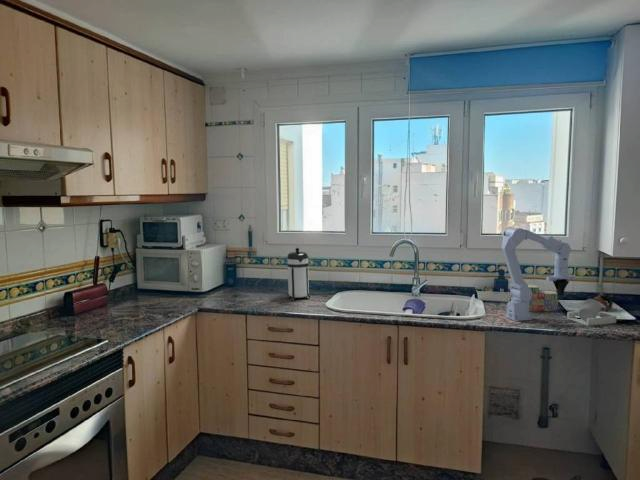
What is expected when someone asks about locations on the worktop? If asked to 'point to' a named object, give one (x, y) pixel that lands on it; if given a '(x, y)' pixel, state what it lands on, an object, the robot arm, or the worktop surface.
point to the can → (589, 309)
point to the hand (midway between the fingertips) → (560, 294)
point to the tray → (593, 319)
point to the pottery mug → (601, 300)
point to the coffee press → (298, 274)
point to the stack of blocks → (542, 300)
